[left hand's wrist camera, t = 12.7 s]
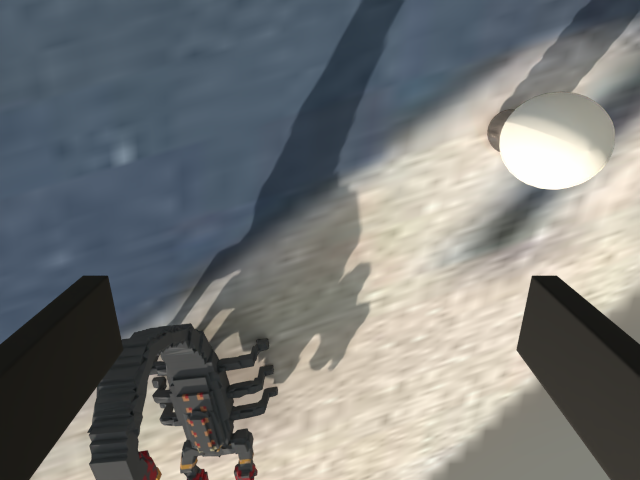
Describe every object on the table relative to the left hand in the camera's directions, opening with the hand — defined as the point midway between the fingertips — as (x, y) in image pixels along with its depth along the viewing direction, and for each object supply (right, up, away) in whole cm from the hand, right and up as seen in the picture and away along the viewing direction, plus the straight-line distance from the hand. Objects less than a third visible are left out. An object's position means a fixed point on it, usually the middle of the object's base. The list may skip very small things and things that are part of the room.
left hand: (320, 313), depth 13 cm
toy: (-12, -14, +33) cm, 38 cm away
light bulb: (+17, +12, +23) cm, 31 cm away
